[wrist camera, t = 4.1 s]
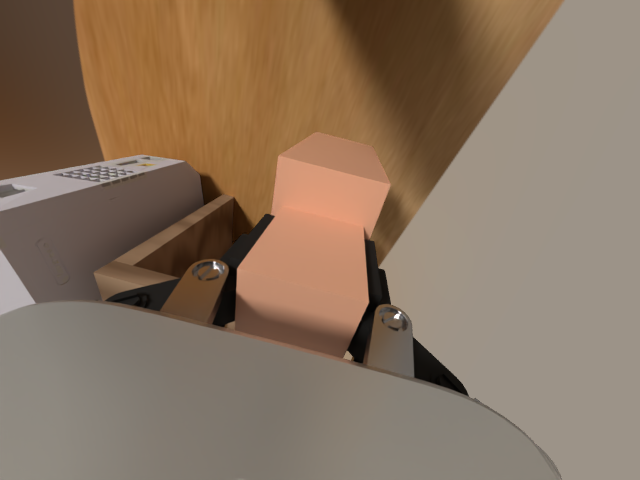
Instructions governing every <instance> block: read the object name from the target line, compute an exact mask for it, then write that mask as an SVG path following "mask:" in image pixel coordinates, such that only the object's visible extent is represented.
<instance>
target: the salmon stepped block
mask: <svg viewBox="0 0 640 480" xmlns="http://www.w3.org/2000/svg"><path fill="white" fill-rule="evenodd" d="M390 186H391V184H390V182H389V180H388V178H387V175H386V173H385V171H384V169H383V167H382V165H381V163H380V161H379V158H378V156H377V154H376V152H375V150H374V148H373V146H370V145H366V144H362V143H358V142H354V141H350V140H346V139H343V138H339V137H335V136H331V135H327V134H323V133H319V132H315V133H314V134H312V135H310V136H309V137H307V138H306V139H304V140H303V141H301V142H299V143H298V144H296V145H295V146H293V147H291V148H290V149H288V150H287V151H285V152H283V153H282V154H280V155H279V156H278V164H277V172H276V180H275V188H274V197H273V205H272V213H271V215H274V216H275V217H274V219H273V220H272V221H271V223H270V224H269V225H268V227H267V228H266V230H265V231H264V232H263V234H262V235H261V236H260V238H259V239H258V241H257V242H256V243H255V245H254V246H253V247H252V249H251V250H250V251H249V253H248V254H247V256H246V257H245V258H244V260H243V261H242V262H241V264H240V265H239V267H238V268H237V286H236V309H235V330H236V331H240V332H244V333H247V334H251V335H255V336H259V337H263V338H267V339H271V340H275V341H278V342H282V343H286V344H290V345H294V346H298V347H301V348H305V349H309V350H313V351H317V352H321V353H324V354H328V355H332V356H336V357H339V358H343V357H344V355H345V353H346V351H347V349H348V346H349V344H350V342H351V340H352V338H353V336H354V334H355V331H356V329H357V327H358V325H359V323H360V321H361V318H362V316H363V314H364V312H365V310H366V308H367V306H368V303H369V296H368V282H367V269H366V255H365V242H364V239H366V240H370V237H371V235H372V232H373V229H374V227H375V224H376V222H377V219H378V217H379V214H380V211H381V209H382V206H383V204H384V201H385V199H386V196H387V193H388V191H389V188H390Z"/></svg>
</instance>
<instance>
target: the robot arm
mask: <svg viewBox="0 0 640 480" xmlns="http://www.w3.org/2000/svg"><path fill="white" fill-rule="evenodd" d="M274 217H275V216H274V215H270V214H265V215H264V217H263V218H262V219H261V220H260V221H259V223H258V224H257V225H256V226H255V227H254V229H253V230H252V231H251V232H250V233H249V235H248V234H242V235H241V236H240V237H239V238H238V239H237V240H236V242H235V243H234V244H233V245H232V246H231V247H230V248H229V249H228V251H227V252H226V253H225V254H224V255H223V256H222V257H221V258H220V260H216V259H205V260H201V261H198V262H196V263H194V264H192V265H191V266H190V267H189V268H188V270H187V271H186V273H185V274H184V276H183V277H182V278H178V279H174V280H169V281H165V282H161V283H157V284H152V285H148V286H144V287H140V288H135V289H131V290H127V291H123V292H120V293H117V294H115V295H113V296H111V297H109V298H108V299H106V300H105V301H98V300H60V301H49V302H42V303H36V304H31V305H27V306H23V307H20V308H17V309H14V310H11V311H9V312H6V313H4V314H1V315H0V480H562V478H561V475H560V473H559V472H558V469H557V468H556V466H555V464H554V463H553V461H552V460H551V459H550V458H549V456H548V455H547V454H546V453H545V452H544V451H543V450H542V449H541V448H540V447H539V446H537V445H536V444H535V443H534V441H533V440H531V438H529V437H528V435H526V433H525V432H523V431H522V430H521V429H520V428H518V427H517V426H516V425H515V424H513V423H512V422H510V421H509V420H508V419H507V418H505V417H504V416H502V415H500V414H499V413H497V412H496V411H494V410H492V409H491V408H489V407H488V406H486V405H484V404H482V403H481V402H480V401H479V400H477V399H476V398H475V399H472V398H470V397H469V395H468V393H467V391H466V389H465V387H464V386H463V384H462V383H461V382H460V381H459V380H458V379H457V377H455V376H454V375H453V374H452V373H451V372H450V371H449V370H448V369H447V368H446V367H445V366H444V365H442V364H441V363H440V362H439V361H438V360H437V359H436V358H435V357H434V356H433V355H432V354H431V353H429V351H428V350H427V349H425V348H424V347H423V346H422V345H421V344H420V343H419V342H418V341H417V340H416V339H415V338H413V334H412V323H411V320H410V319H409V317H408V316H407V315H406V314H405V312H403V311H402V310H401V309H399V308H397V307H395V306H393V305H391V302H390V296H389V291H388V285H387V280H386V274H385V271H384V270H383V269H379V268H378V264H377V257H376V250H375V243H374V241H370V240H366V239H364V242H365V255H366V269H367V282H368V296H369V303H368V306H367V308H366V310H365V312H364V314H363V316H362V318H361V321H360V323H359V325H358V327H357V329H356V331H355V334H354V336H353V338H352V340H351V342H350V344H349V346H348V349H347V351H349V353H350V354H351V355H352V356H353V357H352V359H351V361H350V360H347V359H343V358H339V357H336V356H332V355H328V354H324V353H321V352H317V351H313V350H309V349H305V348H301V347H298V346H294V345H290V344H286V343H282V342H278V341H275V340H271V339H267V338H263V337H259V336H255V335H251V334H247V333H244V332H240V331H236V330H232V329H228V328H227V326H228V323H231V322H233V321H235V309H236V286H237V268H238V267H239V265H240V264H241V262H242V261H243V260H244V258H245V257H246V256H247V254H248V253H249V251H250V250H251V249H252V247H253V246H254V245H255V243H256V242H257V241H258V239H259V238H260V236H261V235H262V234H263V232H264V231H265V230H266V228H267V227H268V225H269V224H270V223H271V221H272V220H273V219H274Z"/></svg>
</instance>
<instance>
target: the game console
mask: <svg viewBox="0 0 640 480" xmlns="http://www.w3.org/2000/svg"><path fill="white" fill-rule="evenodd" d="M203 206H204V201H203V194H202V186H201V179H200V174H199V173H198V172H196V171H195V170H194V169H193V168H192V167H191V166H190V165H189V164H188V163H187V162H186V161H181V160H174V159H167V158H160V157H153V156H146V155H137V156H132V157H127V158H121V159H116V160H110V161H105V162H99V163H95V164H89V165H83V166H78V167H73V168H67V169H62V170H56V171H50V172H45V173H40V174H34V175H29V176H23V177H18V178H12V179H7V180H1V181H0V315H1V314H4V313H6V312H9V311H11V310H14V309H17V308H20V307H23V306H27V305H31V304H36V303H42V302H49V301H60V300H98V301H103V300H102V297H101V294H100V291H99V288H98V285H97V282H96V279H95V276H94V273H93V272H95V271H97V270H98V269H100V268H102V267H103V266H105V265H107V264H108V263H110V262H112V261H113V260H115V259H117V258H118V257H120V256H122V255H123V254H125V253H127V252H128V251H130V250H131V249H133V248H135V247H136V246H138V245H140V244H141V243H143V242H145V241H146V240H148V239H150V238H151V237H153V236H155V235H156V234H158V233H160V232H161V231H163V230H165V229H166V228H168V227H170V226H171V225H173V224H175V223H176V222H178V221H180V220H181V219H183V218H185V217H186V216H188V215H190V214H191V213H193V212H195V211H196V210H198V209H200V208H201V207H203Z"/></svg>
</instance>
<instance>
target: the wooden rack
mask: <svg viewBox="0 0 640 480" xmlns="http://www.w3.org/2000/svg"><path fill="white" fill-rule="evenodd" d="M233 208H234V197H232V196H228V195H224V194H223V195H221V196H220V197H218V198H216V199H215V200H213V201H211V202H210V203H208V204H206V205H205V206H203V207H201V208H200V209H198V210H196V211H195V212H193V213H191V214H190V215H188V216H186V217H185V218H183V219H181V220H180V221H178V222H176V223H175V224H173V225H171V226H170V227H168V228H166V229H165V230H163V231H161V232H160V233H158V234H156V235H155V236H153V237H151V238H150V239H148V240H146V241H145V242H143V243H141V244H140V245H138V246H136V247H135V248H133V249H131V250H130V251H128V252H127V253H125V254H123V255H122V256H120V257H118V258H117V259H115V260H113V261H112V262H110V263H108V264H107V265H105V266H103V267H102V268H100V269H98V270H97V271H95V272H93V273H94V276H95V279H96V282H97V285H98V288H99V291H100V294H101V297H102V300H103V301H105V300H106V299H108V298H109V297H111V296H113V295H115V294H117V293H120V292H123V291H127V290H131V289H135V288H140V287H144V286H148V285H152V284H157V283H161V282H165V281H169V280H174V279H178V278H182V277H183V276H184V274H185V273H186V271H187V270H188V268H189V267H190V266H191V265H192V264H194V263H196V262H198V261H201V260H205V259H216V260H220V258H221V257H222V256H223V255H224V254H225V253H226V252H227V251H228V249H229V248H230V247H231V246H232V234H233ZM227 328H228V329H232V330H235V321H233V322H231V323H228V326H227Z"/></svg>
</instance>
